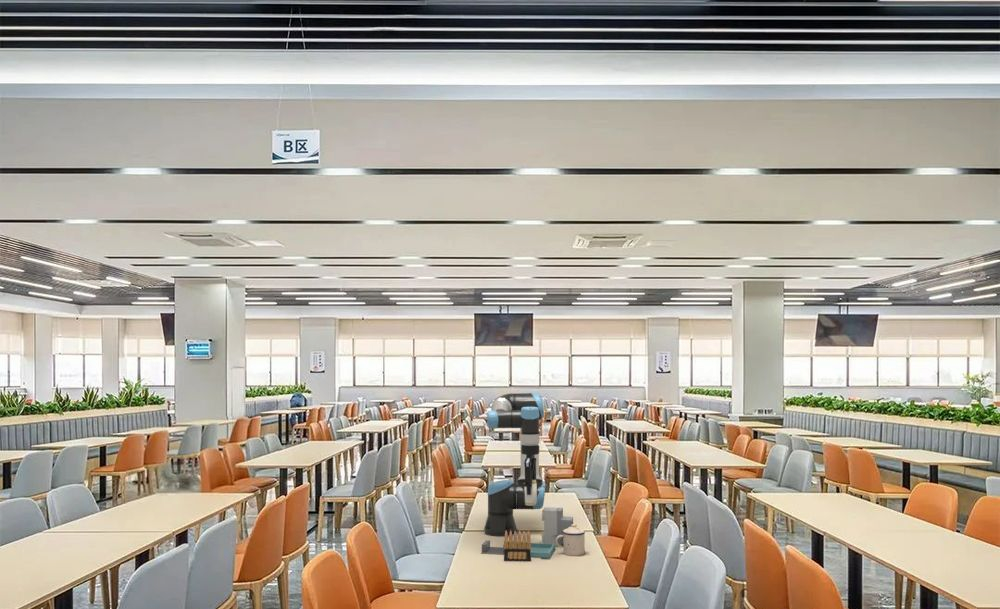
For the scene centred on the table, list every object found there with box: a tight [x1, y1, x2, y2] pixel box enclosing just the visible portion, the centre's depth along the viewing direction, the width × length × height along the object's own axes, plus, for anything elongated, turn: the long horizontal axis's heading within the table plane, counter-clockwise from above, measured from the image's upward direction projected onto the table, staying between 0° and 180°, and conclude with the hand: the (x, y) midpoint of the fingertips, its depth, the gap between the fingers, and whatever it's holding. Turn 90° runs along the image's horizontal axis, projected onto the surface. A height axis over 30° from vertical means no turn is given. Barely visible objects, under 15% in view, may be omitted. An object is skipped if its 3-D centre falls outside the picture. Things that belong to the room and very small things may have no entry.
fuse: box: [525, 479, 537, 506], centre depth 309 cm, size 5×5×10 cm
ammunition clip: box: [503, 530, 532, 562], centre depth 295 cm, size 11×2×12 cm, turn 85°
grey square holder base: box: [480, 540, 509, 556], centre depth 310 cm, size 12×11×4 cm
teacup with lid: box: [556, 523, 586, 557], centre depth 307 cm, size 12×9×12 cm
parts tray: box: [517, 542, 556, 560], centre depth 307 cm, size 16×16×2 cm
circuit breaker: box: [541, 506, 578, 548], centre depth 322 cm, size 8×14×15 cm, turn 78°
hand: (530, 501), depth 308 cm, fingers closed on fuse, 5 cm apart
